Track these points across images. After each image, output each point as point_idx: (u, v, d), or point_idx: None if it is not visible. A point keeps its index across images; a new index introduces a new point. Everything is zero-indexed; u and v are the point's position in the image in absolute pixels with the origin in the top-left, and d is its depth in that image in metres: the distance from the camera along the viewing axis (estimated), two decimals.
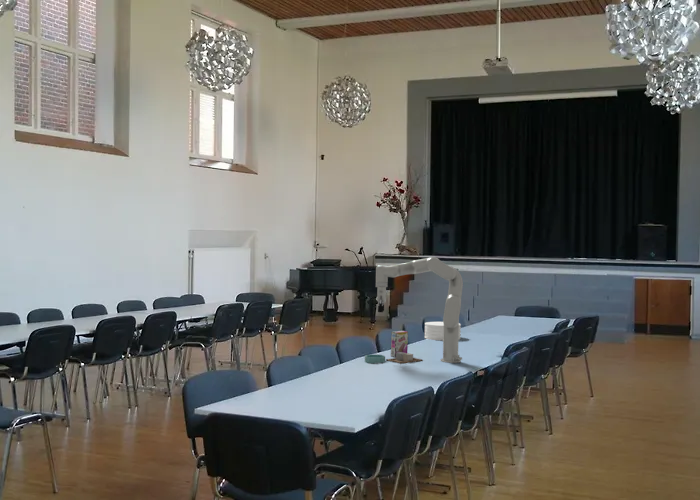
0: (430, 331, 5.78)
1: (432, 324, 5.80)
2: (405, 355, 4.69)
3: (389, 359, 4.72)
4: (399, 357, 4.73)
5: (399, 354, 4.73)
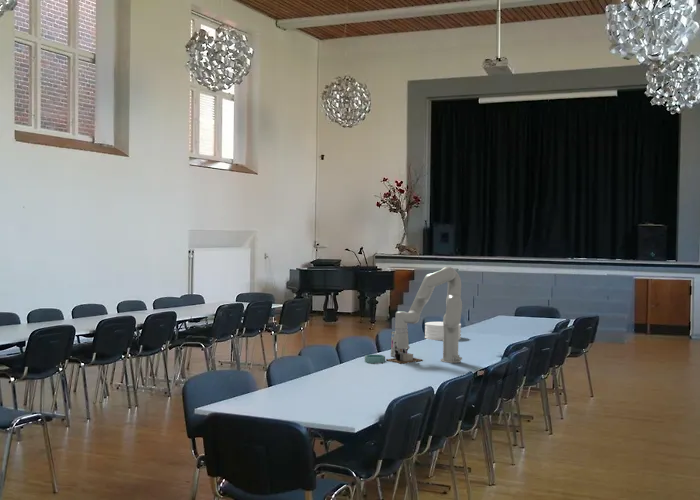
0: (430, 331, 5.78)
1: (432, 324, 5.80)
2: (405, 355, 4.69)
3: (389, 359, 4.72)
4: None
5: None
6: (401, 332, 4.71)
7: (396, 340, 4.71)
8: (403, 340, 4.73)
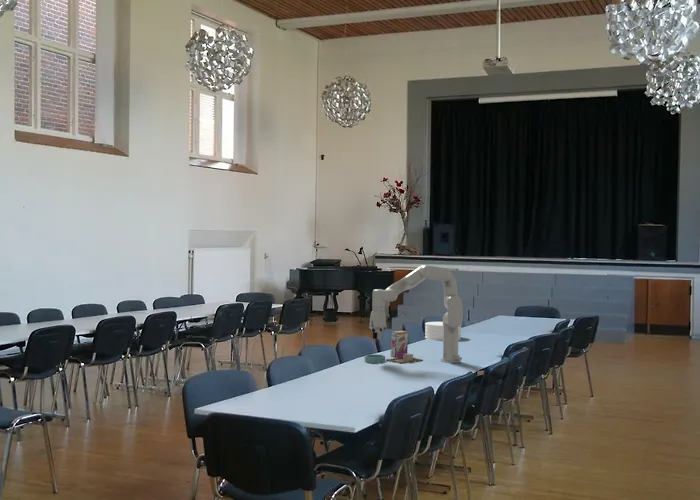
0: (430, 331, 5.78)
1: (432, 324, 5.80)
2: (405, 355, 4.69)
3: (389, 359, 4.72)
4: None
5: (376, 332, 4.66)
6: (378, 310, 4.64)
7: (373, 318, 4.64)
8: (380, 318, 4.65)
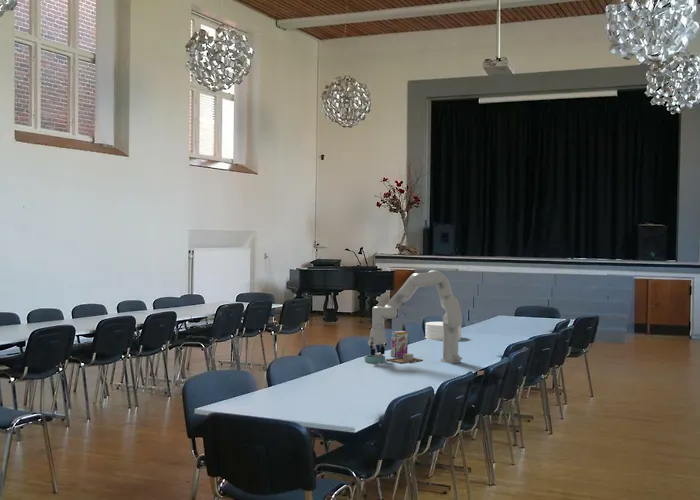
0: (431, 331, 5.78)
1: (433, 324, 5.80)
2: (405, 355, 4.69)
3: (389, 359, 4.72)
4: None
5: (376, 355, 4.66)
6: (378, 327, 4.64)
7: (373, 335, 4.64)
8: (380, 335, 4.66)
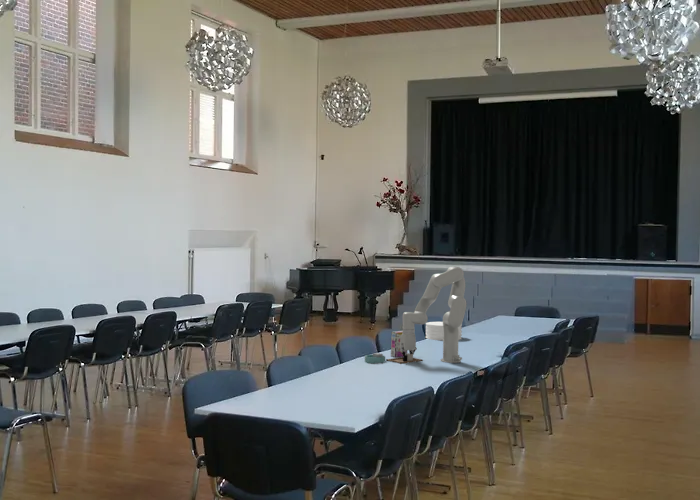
0: (431, 331, 5.78)
1: (433, 324, 5.80)
2: None
3: (389, 359, 4.72)
4: None
5: (376, 355, 4.66)
6: (408, 333, 4.66)
7: (403, 341, 4.66)
8: (410, 341, 4.68)
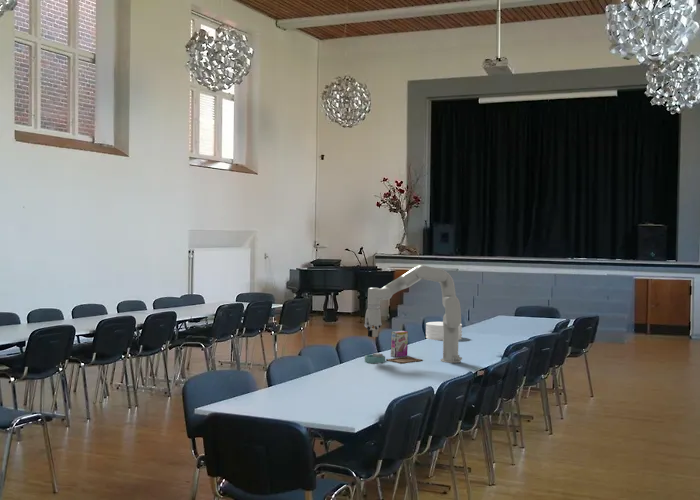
0: (431, 331, 5.78)
1: (433, 324, 5.80)
2: None
3: (389, 359, 4.72)
4: None
5: (376, 355, 4.66)
6: (373, 308, 4.68)
7: (368, 316, 4.68)
8: (375, 316, 4.69)
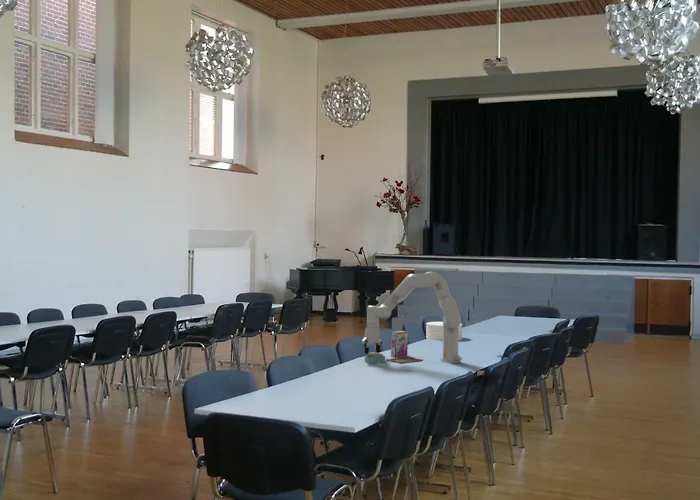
0: (431, 331, 5.78)
1: (433, 324, 5.80)
2: (369, 354, 4.70)
3: (389, 359, 4.72)
4: None
5: (376, 355, 4.66)
6: (372, 327, 4.68)
7: (367, 335, 4.68)
8: (374, 334, 4.69)
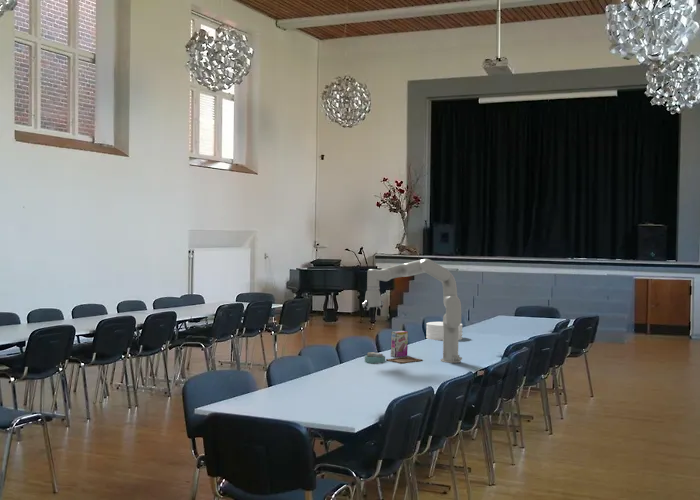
0: (432, 331, 5.78)
1: (434, 324, 5.80)
2: (369, 354, 4.70)
3: (389, 359, 4.72)
4: None
5: (376, 355, 4.66)
6: (373, 290, 4.67)
7: (368, 298, 4.67)
8: (375, 298, 4.69)
